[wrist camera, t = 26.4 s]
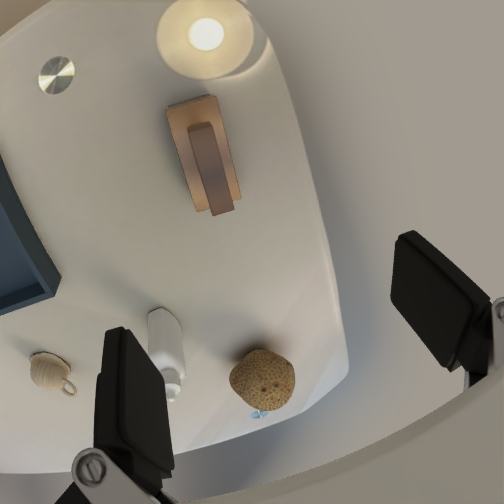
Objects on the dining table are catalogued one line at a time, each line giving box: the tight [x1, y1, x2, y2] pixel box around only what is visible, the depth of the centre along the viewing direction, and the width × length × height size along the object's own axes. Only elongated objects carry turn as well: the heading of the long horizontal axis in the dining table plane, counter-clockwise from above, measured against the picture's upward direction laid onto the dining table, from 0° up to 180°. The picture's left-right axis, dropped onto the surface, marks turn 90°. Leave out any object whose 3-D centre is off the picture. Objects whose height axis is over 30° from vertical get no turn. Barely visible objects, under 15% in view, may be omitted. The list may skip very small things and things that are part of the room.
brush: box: [165, 94, 241, 216], centre depth 26 cm, size 10×4×8 cm, turn 12°
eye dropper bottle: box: [148, 308, 186, 402], centre depth 35 cm, size 4×6×12 cm
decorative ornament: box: [30, 352, 77, 397], centre depth 37 cm, size 4×8×5 cm, turn 60°
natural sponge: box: [229, 349, 295, 411], centre depth 43 cm, size 9×9×10 cm
